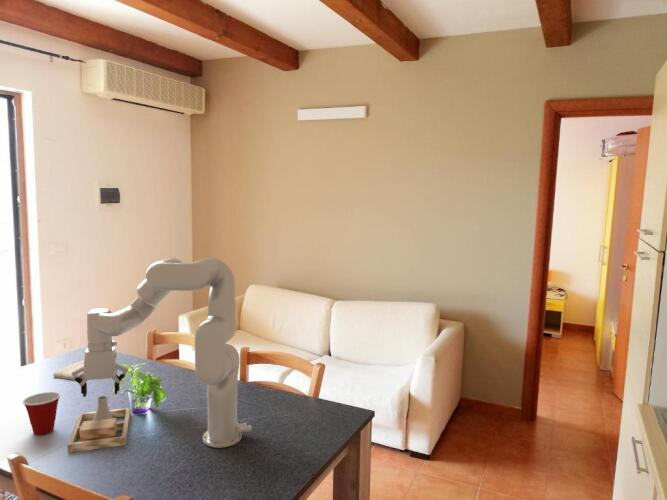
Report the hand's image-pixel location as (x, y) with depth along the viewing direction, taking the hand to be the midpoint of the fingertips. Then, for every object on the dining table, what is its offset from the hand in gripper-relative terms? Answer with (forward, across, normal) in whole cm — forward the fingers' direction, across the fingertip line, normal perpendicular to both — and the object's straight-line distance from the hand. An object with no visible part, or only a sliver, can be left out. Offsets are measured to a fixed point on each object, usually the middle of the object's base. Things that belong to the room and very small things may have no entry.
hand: (100, 394), depth 168 cm
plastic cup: (+12, +18, 0) cm, 21 cm away
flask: (+11, -1, 0) cm, 11 cm away
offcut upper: (+8, -1, +11) cm, 14 cm away
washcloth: (+13, +14, -54) cm, 57 cm away
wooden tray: (+11, -1, +5) cm, 12 cm away
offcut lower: (+11, -1, +11) cm, 16 cm away
